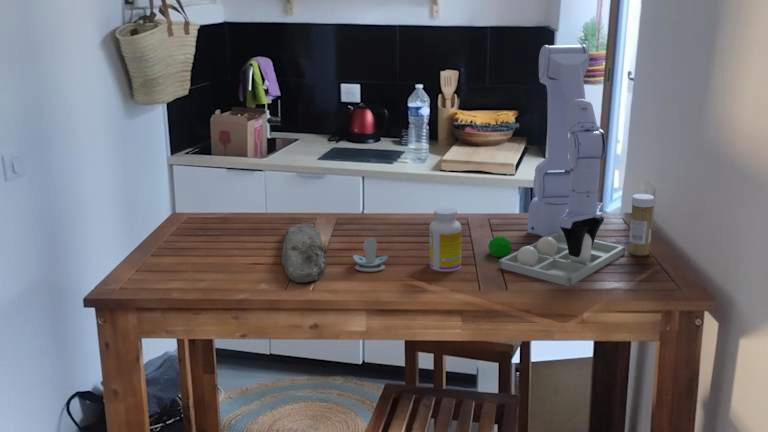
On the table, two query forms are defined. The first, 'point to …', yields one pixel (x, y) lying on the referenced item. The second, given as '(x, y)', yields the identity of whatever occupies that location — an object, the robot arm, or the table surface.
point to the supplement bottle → (445, 240)
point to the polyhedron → (500, 247)
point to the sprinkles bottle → (641, 224)
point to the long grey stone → (303, 253)
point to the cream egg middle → (547, 246)
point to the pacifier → (369, 258)
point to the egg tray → (564, 262)
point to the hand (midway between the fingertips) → (580, 252)
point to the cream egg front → (527, 256)
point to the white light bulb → (583, 251)
